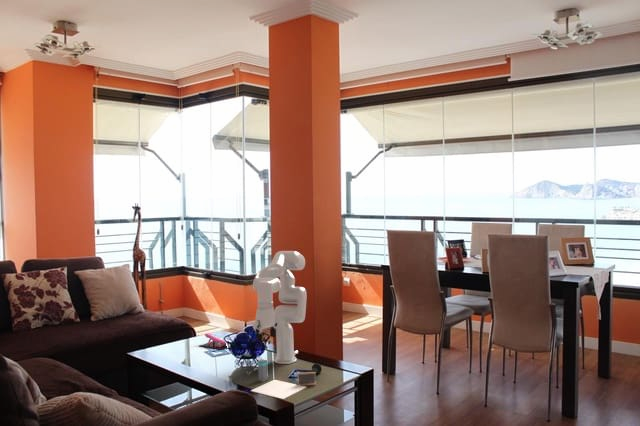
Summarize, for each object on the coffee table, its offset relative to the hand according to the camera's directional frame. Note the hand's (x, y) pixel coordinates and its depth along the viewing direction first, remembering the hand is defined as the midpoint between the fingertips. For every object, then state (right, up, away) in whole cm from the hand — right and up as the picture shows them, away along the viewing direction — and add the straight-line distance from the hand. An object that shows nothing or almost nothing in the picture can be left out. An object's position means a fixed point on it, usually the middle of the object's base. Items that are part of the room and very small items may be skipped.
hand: (266, 339), depth 277 cm
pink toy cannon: (-38, -21, +69) cm, 82 cm away
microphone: (+23, -22, +7) cm, 32 cm away
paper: (+7, -22, -10) cm, 25 cm away
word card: (+20, -22, -5) cm, 30 cm away
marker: (-2, -22, +3) cm, 22 cm away
